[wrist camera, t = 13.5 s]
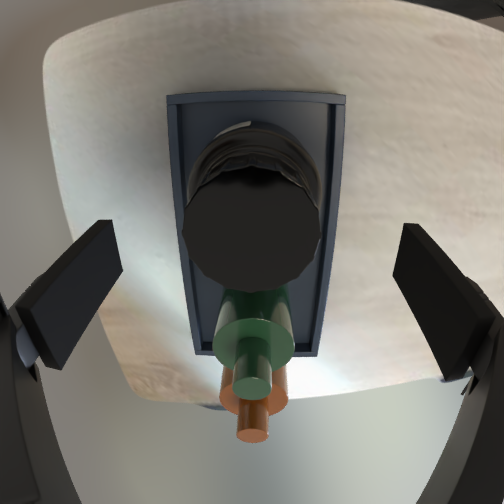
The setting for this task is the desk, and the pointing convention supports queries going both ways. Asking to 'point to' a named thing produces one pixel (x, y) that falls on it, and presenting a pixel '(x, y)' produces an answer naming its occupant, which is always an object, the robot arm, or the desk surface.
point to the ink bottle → (253, 208)
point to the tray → (330, 169)
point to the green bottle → (254, 338)
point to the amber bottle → (254, 406)
